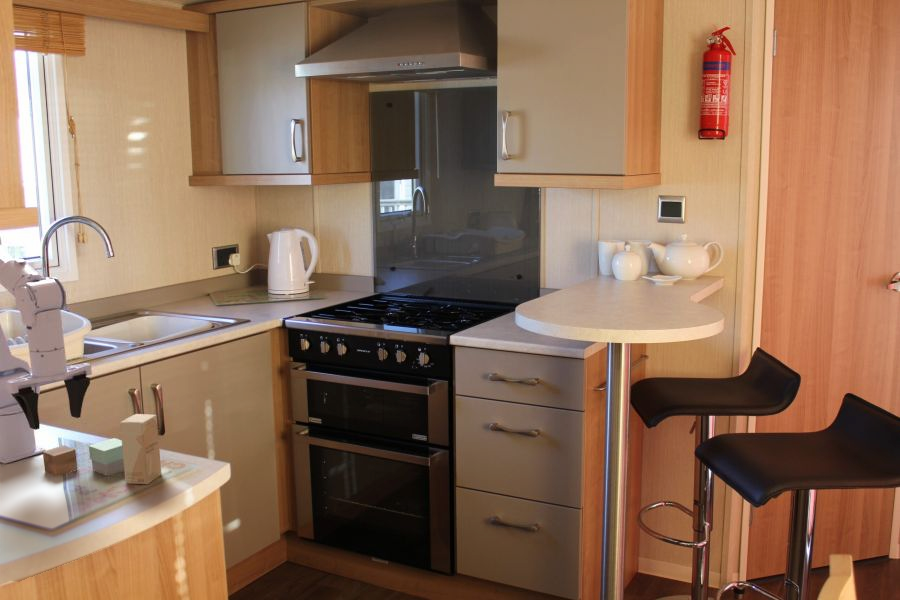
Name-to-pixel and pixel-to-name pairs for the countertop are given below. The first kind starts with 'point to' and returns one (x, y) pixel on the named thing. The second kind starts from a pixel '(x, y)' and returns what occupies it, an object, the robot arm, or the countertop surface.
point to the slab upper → (106, 451)
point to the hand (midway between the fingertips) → (55, 422)
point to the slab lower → (108, 467)
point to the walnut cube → (60, 460)
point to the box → (140, 448)
